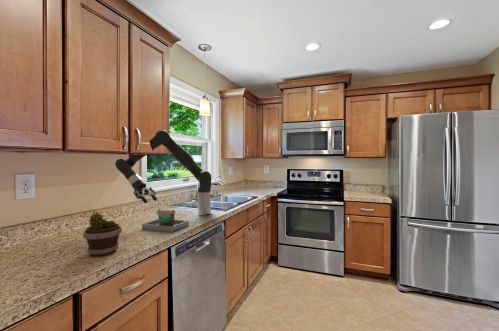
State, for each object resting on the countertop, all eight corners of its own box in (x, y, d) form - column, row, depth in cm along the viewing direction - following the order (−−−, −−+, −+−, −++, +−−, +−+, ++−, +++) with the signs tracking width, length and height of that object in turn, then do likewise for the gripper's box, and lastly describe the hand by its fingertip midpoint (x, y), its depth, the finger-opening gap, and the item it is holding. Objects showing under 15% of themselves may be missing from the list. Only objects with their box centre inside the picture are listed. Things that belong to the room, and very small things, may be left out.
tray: (160, 222, 160) (160, 218, 160) (188, 225, 152) (188, 220, 152) (142, 229, 145) (142, 224, 145) (172, 232, 137) (172, 227, 137)
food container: (152, 227, 147) (152, 210, 147) (159, 224, 153) (159, 208, 153) (169, 228, 143) (169, 211, 143) (175, 226, 149) (175, 209, 149)
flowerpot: (106, 245, 118) (105, 204, 117) (129, 249, 112) (128, 206, 112) (75, 256, 104) (74, 210, 104) (100, 261, 98) (99, 212, 98)
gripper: (131, 179, 148) (146, 199, 144) (148, 178, 161) (162, 195, 158) (124, 188, 150) (139, 207, 146) (142, 185, 163) (156, 203, 160)
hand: (151, 201), depth 152 cm, fingers open, 8 cm apart
